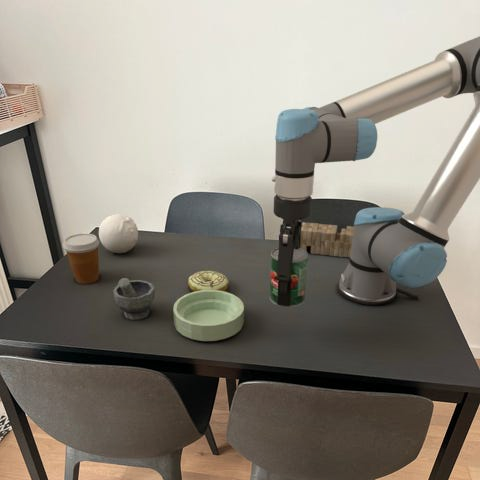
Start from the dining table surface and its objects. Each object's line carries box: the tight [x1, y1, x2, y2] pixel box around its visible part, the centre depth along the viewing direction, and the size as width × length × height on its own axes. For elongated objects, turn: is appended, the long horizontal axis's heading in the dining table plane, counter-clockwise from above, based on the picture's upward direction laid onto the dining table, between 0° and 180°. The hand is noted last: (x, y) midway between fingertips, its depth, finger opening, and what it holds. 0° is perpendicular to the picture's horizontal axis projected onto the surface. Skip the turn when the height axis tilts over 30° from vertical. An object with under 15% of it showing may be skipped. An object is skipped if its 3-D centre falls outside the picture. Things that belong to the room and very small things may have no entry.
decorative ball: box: [98, 213, 139, 254], centre depth 146 cm, size 12×12×12 cm
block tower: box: [301, 221, 354, 259], centre depth 148 cm, size 8×8×29 cm
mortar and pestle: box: [112, 277, 156, 321], centre depth 113 cm, size 11×9×12 cm
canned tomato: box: [269, 247, 309, 308], centre depth 102 cm, size 8×8×11 cm
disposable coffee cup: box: [62, 232, 100, 285], centre depth 129 cm, size 10×10×12 cm
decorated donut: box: [188, 270, 230, 292], centre depth 127 cm, size 10×11×4 cm
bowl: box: [172, 290, 245, 342], centre depth 111 cm, size 17×17×5 cm
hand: (287, 295), depth 104 cm, fingers closed on canned tomato, 8 cm apart
